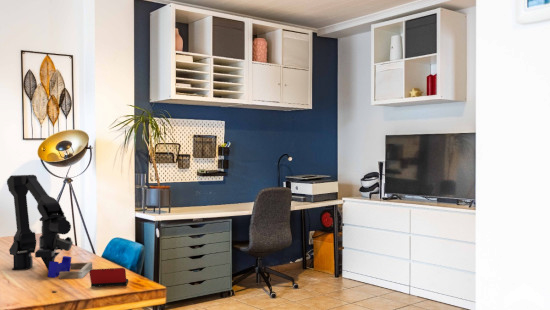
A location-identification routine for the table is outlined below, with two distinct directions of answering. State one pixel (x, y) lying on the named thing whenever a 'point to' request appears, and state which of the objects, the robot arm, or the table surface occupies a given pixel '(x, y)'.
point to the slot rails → (76, 274)
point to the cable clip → (59, 267)
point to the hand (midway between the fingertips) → (50, 271)
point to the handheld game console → (108, 277)
